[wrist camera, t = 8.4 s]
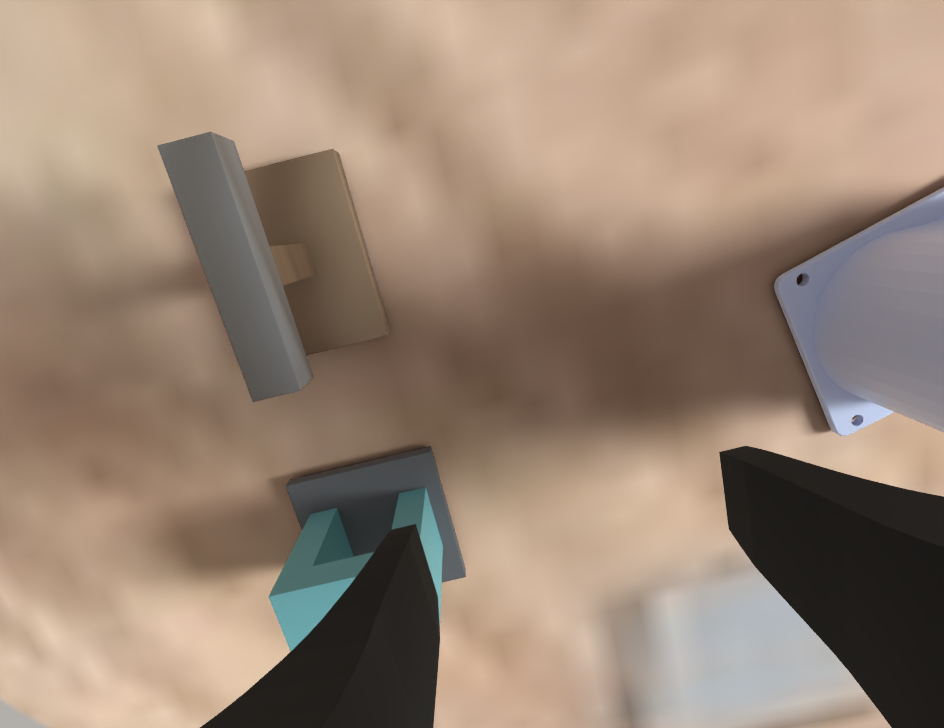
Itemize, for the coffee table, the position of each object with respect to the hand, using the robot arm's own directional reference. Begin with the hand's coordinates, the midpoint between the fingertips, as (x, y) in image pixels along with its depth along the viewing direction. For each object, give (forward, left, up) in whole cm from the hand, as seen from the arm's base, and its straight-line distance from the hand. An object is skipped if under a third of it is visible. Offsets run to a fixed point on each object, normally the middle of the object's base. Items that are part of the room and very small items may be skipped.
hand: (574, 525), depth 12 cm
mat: (+9, +3, -10) cm, 14 cm away
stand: (+5, -9, -10) cm, 15 cm away
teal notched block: (+8, +2, -10) cm, 13 cm away
